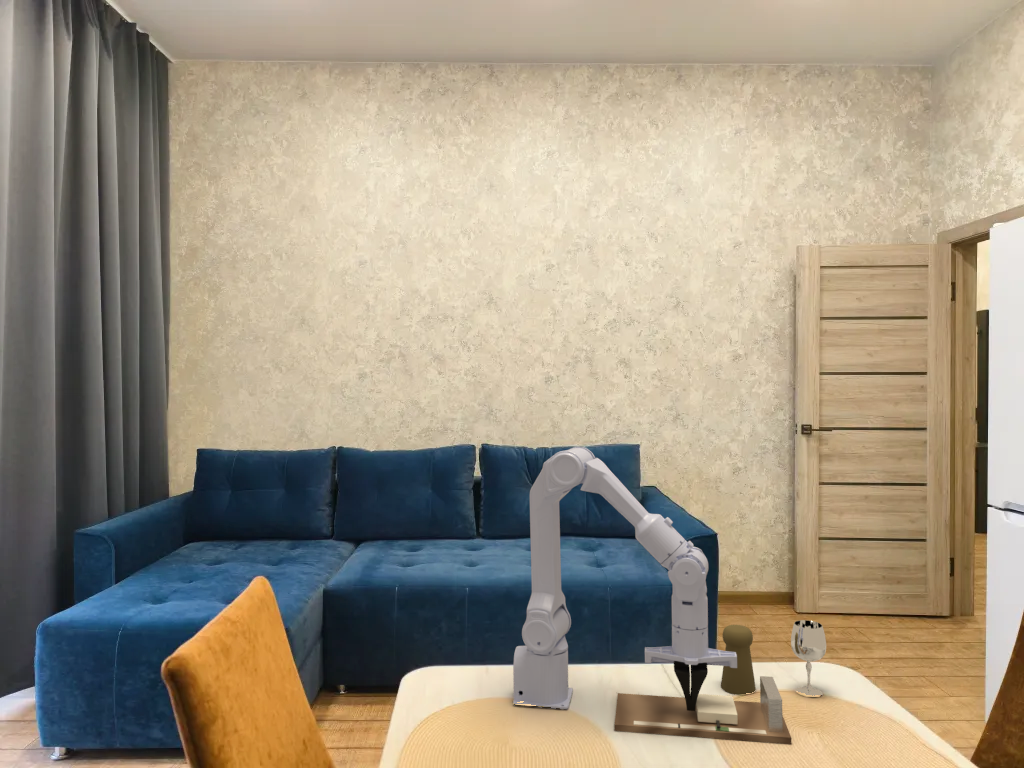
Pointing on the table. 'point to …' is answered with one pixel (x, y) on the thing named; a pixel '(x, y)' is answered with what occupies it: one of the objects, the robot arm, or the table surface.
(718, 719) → the carriage
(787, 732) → the gauge base
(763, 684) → the gray stone tile
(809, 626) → the wineglass
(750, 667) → the cork
